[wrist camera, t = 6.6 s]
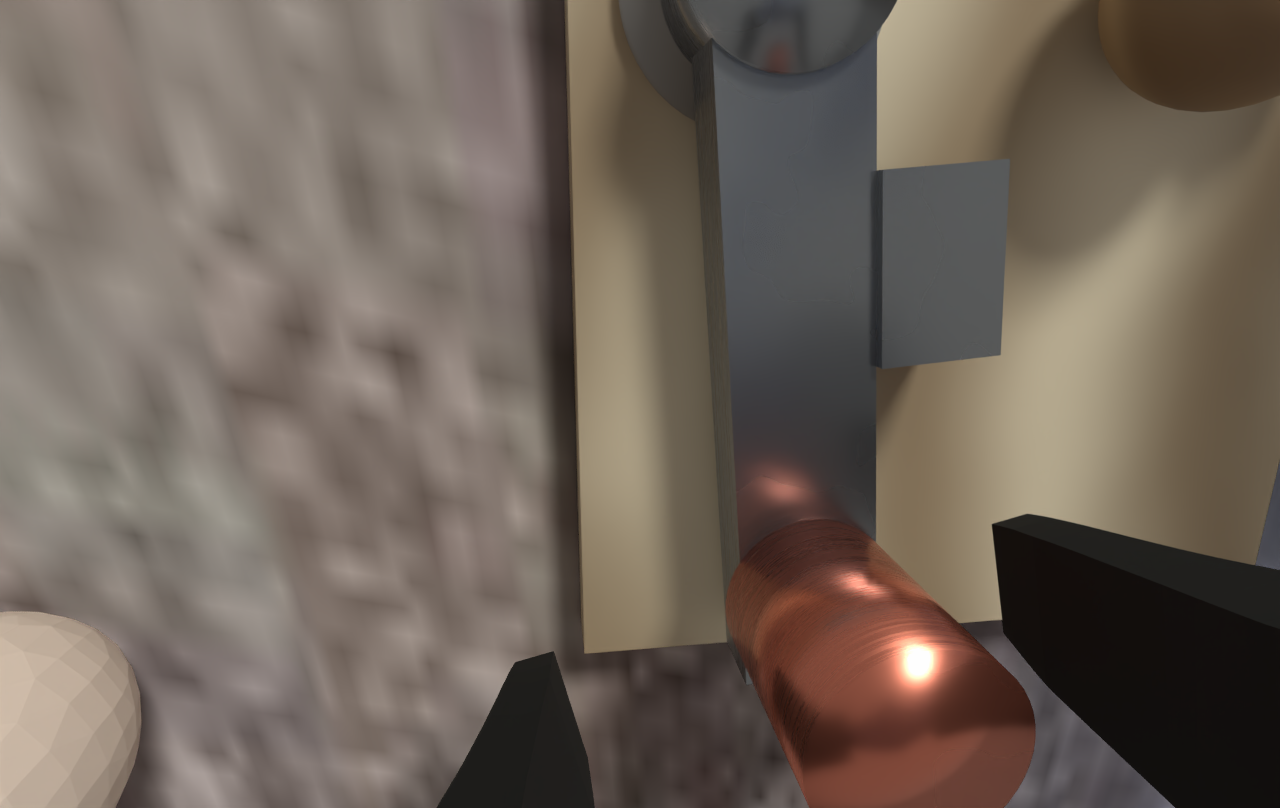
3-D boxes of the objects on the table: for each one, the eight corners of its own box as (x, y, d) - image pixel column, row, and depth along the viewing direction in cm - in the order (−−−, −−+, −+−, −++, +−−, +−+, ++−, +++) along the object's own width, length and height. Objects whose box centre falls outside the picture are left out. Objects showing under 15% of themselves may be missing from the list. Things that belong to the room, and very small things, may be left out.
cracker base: (1353, -143, 14) (1767, -325, 9) (1200, 574, 17) (1436, 702, 13) (559, -199, 12) (572, -466, 7) (581, 621, 16) (598, 792, 11)
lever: (952, -142, 11) (1303, -443, 6) (934, 602, 15) (1147, 812, 10) (650, -130, 11) (754, -450, 6) (704, 637, 14) (798, 879, 9)
